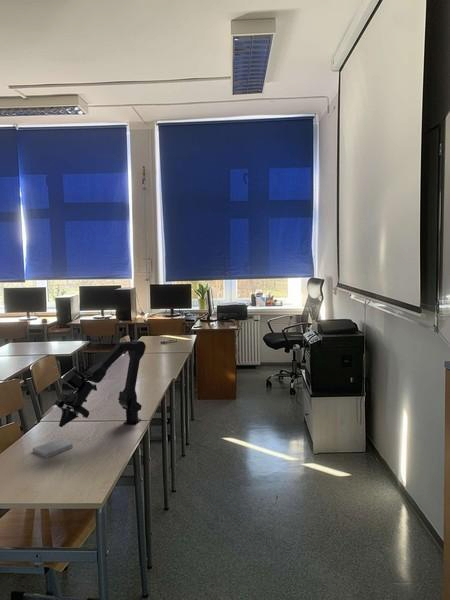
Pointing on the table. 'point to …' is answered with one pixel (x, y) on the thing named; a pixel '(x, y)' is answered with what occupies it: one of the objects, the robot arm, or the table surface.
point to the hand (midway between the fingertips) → (60, 426)
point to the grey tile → (52, 448)
